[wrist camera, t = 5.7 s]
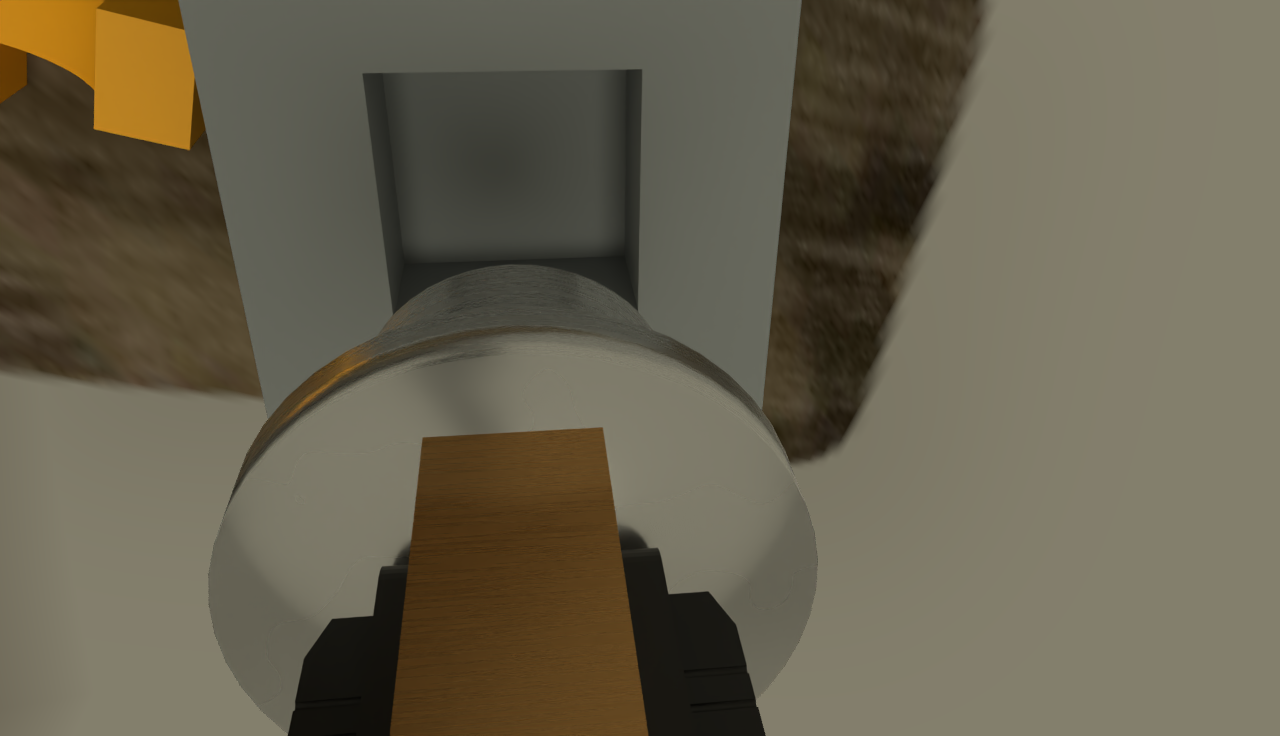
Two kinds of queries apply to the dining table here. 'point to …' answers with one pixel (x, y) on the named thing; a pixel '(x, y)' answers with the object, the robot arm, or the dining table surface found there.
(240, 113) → the bearing housing
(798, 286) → the dining table surface
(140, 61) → the pipe clamp
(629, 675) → the end cover
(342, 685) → the robot arm
